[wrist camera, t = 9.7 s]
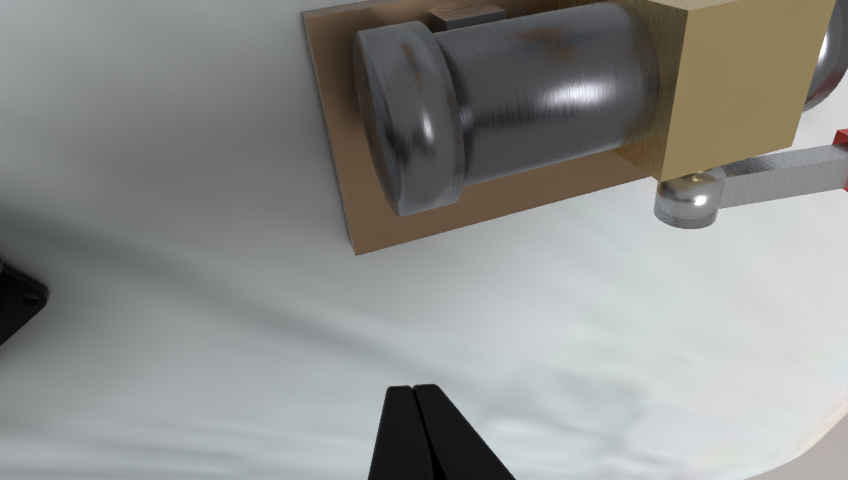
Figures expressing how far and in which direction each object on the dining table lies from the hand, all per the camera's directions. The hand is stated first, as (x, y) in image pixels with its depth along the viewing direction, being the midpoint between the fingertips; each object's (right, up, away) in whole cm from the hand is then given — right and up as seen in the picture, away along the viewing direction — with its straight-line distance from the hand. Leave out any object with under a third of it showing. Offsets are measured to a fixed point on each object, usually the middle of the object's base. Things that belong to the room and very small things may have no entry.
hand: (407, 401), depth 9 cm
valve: (+4, +8, +12) cm, 16 cm away
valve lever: (+9, +4, +9) cm, 14 cm away
